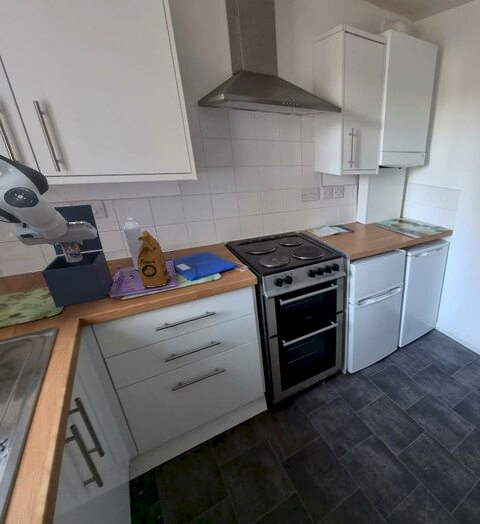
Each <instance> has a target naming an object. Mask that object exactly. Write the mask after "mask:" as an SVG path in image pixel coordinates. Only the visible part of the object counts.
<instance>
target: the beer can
mask: <svg viewBox="0 0 480 524" xmlns="http://www.w3.org/2000/svg"><path fill="white" fill-rule="evenodd" d="M60 244H61V247H62V249H63V252H64V254H63V255H65V257H66V260H67V262H70V263H74V262H78V261H81V260H82V259H83V257H82V255H81V253H82V252H80V249H79V246H78V245H77V244H76V241H68V242H60Z"/></svg>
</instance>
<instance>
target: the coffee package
mask: <svg viewBox="0 0 480 524" xmlns="http://www.w3.org/2000/svg"><path fill="white" fill-rule="evenodd" d="M142 235H143V236H141V237H139V239H138V240H139V241H140V240H142V241H143V242H142V244H141V246H140V250H139V254H138V258H137V266H138V269H139V271H138V273H139V276H140V279H141V282H142V286H143V287H144V288H145V287H147V286H160V285H163V284H165V283H166V284H167V282H168V281H169V280H170V273H169V270H168V266H167V263H166V259H165V255H164V253H163V250H162V248H161V245H160V243H159V242H158V240H157V239H156V238H155V237H154V236H153V235H152V234H151V233H150V232H149V231H148V230H147V229H146V230H143V231H142ZM168 279H169V280H168ZM167 280H168V281H167Z"/></svg>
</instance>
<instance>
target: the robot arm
mask: <svg viewBox="0 0 480 524" xmlns="http://www.w3.org/2000/svg"><path fill="white" fill-rule="evenodd" d="M0 173H1V175H0V222H3V223H7V224H14V235H15V237H16V238H17V240H18V241H19V242H21V243H22V245H25V246H37V245H38V246H39V245H50V246H53V245H55V246H56V247H61V244H60V242H68V241H76V244H77V245H82V244H83V242H82V240H87V239H95V238H96V237H97V230H96V229H95V228H94V227H93V226H92V225H91V224H90V223H87V222H82V221H81V222H69V223H68V222H67V221H66V220H65V218H64V217H63V216H62V215H61V214H60V213H59V212H58V211H56V210H55V208H54V207H55V206H54V205H52V203H51V202H50V201H49V200H48V199H46V198H45V197H44V196H43V195H44V194H45V193H47V192H48V191H49V189H50V188H49V182H48V179H47V177H46V176H45V175H44V174H43V173H42V172H40V171H38V170H36V169H35V168H32V167H31V166H28V165H25V164H23V163H20V162H18V161H15V160H13V159H11V158H9V157H6V156H4V155H2V154H0Z"/></svg>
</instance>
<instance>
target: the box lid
mask: <svg viewBox="0 0 480 524" xmlns="http://www.w3.org/2000/svg"><path fill="white" fill-rule="evenodd" d="M53 207H54V208H55V210H56V211H58V212H59V213H60V214H61V215H62V216H63V217H64V218H65V220H66V221H67V222H68V223H69V222H81V221H82V222H87V223H90V224H91V225H92V226H93V227H94V228H95V229H96V230H97V237H96V238H95V239H87V240H82V242H83V244H82V245H78V246H79V249H80V252H81V253H86V252H94V251H102V250H104V249H103V244H102V241H101V237H100V234H99V230H98V226H97V223H96V222H97V221H96V219H95V215H94V212H93V211H94V210H93V207H92V204H79V205H77V204H76V205H63V206H53ZM52 246H53V249H54V252H55V255H56V256H62V255H64V252H63V249H62V247H56V246H55V245H52Z"/></svg>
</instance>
